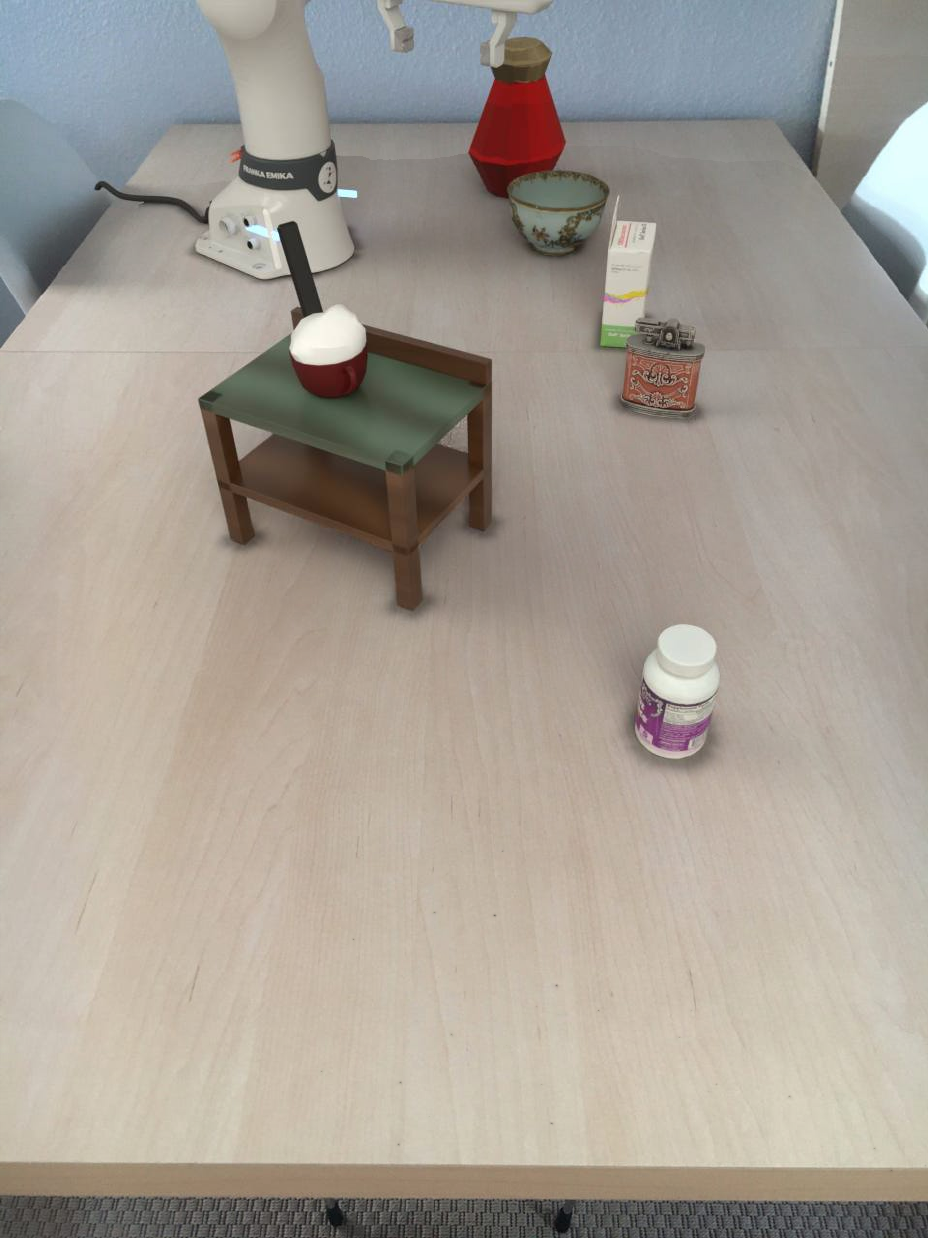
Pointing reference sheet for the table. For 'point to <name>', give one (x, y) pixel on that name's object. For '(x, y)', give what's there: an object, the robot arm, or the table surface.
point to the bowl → (557, 209)
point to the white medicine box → (626, 279)
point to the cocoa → (322, 331)
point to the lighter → (662, 369)
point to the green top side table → (359, 446)
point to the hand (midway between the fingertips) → (446, 57)
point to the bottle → (517, 119)
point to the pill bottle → (678, 692)
